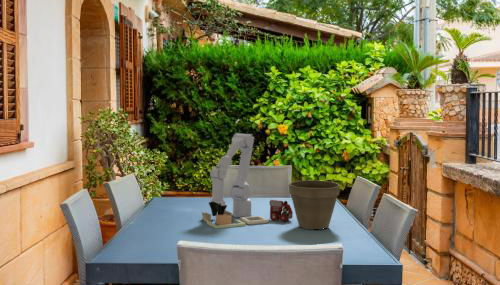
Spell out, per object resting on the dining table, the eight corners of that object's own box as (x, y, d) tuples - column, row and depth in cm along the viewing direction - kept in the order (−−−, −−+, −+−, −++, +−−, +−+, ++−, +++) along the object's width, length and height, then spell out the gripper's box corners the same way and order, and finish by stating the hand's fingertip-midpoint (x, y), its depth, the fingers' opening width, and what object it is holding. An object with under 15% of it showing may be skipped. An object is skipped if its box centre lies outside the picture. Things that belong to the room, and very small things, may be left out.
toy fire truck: (289, 222, 284) (290, 202, 283) (267, 220, 289) (267, 200, 288) (293, 220, 291) (294, 200, 290) (271, 217, 295) (271, 198, 294)
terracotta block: (226, 221, 282) (226, 214, 282) (231, 224, 277) (231, 216, 277) (215, 222, 280) (215, 215, 279) (220, 225, 274) (220, 217, 274)
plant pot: (305, 234, 258) (306, 188, 257) (278, 224, 280) (279, 181, 279) (348, 230, 270) (350, 185, 268) (319, 220, 292) (321, 179, 290)
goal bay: (235, 221, 284) (235, 219, 284) (245, 225, 275) (245, 223, 275) (206, 223, 277) (206, 221, 277) (215, 228, 267) (215, 226, 267)
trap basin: (259, 219, 291) (259, 215, 290) (268, 223, 282) (268, 219, 282) (240, 220, 286) (240, 217, 285) (249, 224, 277) (249, 221, 277)
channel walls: (224, 217, 293) (225, 210, 292) (231, 220, 285) (231, 213, 285) (202, 219, 287) (202, 212, 286) (208, 222, 280) (208, 215, 279)
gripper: (205, 189, 289) (204, 215, 290) (216, 193, 276) (215, 220, 277) (217, 188, 292) (217, 214, 293) (229, 192, 279) (228, 219, 280)
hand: (217, 217), depth 285 cm, fingers open, 7 cm apart
